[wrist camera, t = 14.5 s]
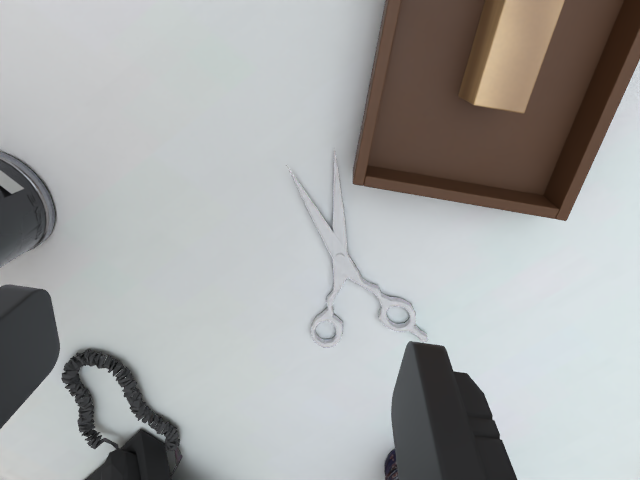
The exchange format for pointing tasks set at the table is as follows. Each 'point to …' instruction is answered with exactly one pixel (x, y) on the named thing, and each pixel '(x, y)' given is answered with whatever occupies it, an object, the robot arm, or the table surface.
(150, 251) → the table surface
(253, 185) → the table surface
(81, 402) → the office phone
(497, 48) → the tan and orange bar
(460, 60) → the tray
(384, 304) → the scissors
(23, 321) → the robot arm
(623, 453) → the table surface
